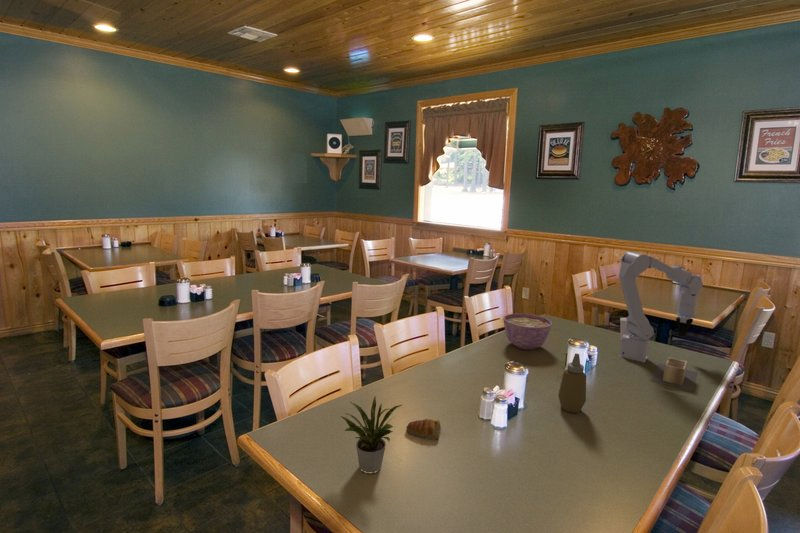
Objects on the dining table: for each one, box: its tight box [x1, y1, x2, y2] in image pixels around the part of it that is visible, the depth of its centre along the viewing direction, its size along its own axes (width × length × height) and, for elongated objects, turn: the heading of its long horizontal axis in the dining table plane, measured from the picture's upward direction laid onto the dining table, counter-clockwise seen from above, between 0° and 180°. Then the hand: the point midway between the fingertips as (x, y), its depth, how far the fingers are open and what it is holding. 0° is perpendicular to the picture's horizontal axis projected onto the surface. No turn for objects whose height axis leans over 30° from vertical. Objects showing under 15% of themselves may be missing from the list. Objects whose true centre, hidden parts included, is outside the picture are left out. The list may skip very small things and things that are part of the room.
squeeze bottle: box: [558, 353, 587, 414], centre depth 140 cm, size 8×8×18 cm
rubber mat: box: [649, 362, 698, 392], centre depth 168 cm, size 13×21×1 cm, turn 144°
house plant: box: [340, 395, 403, 472], centre depth 108 cm, size 14×14×16 cm
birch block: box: [663, 356, 688, 385], centre depth 166 cm, size 6×6×10 cm
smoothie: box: [619, 317, 629, 341], centre depth 207 cm, size 6×6×14 cm
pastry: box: [406, 418, 442, 440], centre depth 125 cm, size 9×7×4 cm
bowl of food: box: [503, 313, 553, 350], centre depth 194 cm, size 20×20×12 cm
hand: (681, 335), depth 186 cm, fingers closed
